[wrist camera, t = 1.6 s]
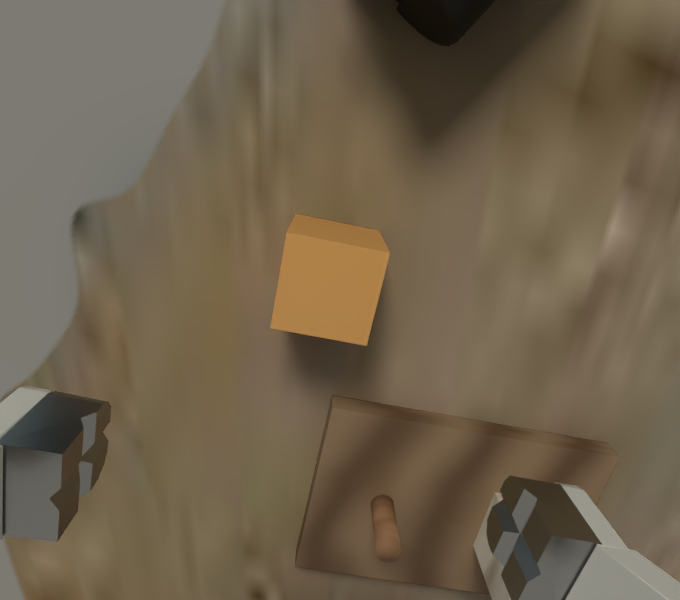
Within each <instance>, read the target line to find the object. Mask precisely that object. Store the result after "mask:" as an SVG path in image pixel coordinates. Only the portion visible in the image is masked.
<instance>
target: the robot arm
mask: <svg viewBox="0 0 680 600" xmlns="http://www.w3.org/2000/svg"><path fill="white" fill-rule="evenodd" d="M110 416H111V406H110V404H109V402H106V401H102V400H97V399H92V398H87V397H82V396H77V395H72V394H67V393H62V392H57V391H54V392H53V391H51V390H47V389H41V388H36V387H30V386H24V387H20V388H18V389H17V390H15V391H14V392H13V393H12V394H11V395H9V396H8V397H7V398H6V399H5V400H3V401H2V402H1V403H0V540H1V539H2V536H11V537H20V538H28V539H37V540H46V541H55V542H58V540H59V539H60V537H61V536H62V534H63V532H64V531H65V529H66V528H67V526H68V525H69V523H70V522H71V520H72V519H73V517H74V516H75V514H76V513H77V511H78V502H79V497H81V496H83V495H85V494H86V493H88V492H90V491H91V489H92V488H93V486H94V484H95V483H96V481H97V480H98V477H99V475H100V473H101V470H102V468H103V465H104V462H105V458H106V454H107V448H108V439H107V438H106V436H105V435H104V433H103V430H104V429H105V428H106V426H107V425H108V424H109V422H110ZM500 492H501V495H502V498H503V500H501V501H500V502H498V503H497V504H495V505H494V506H493V507H492V509H491V511H490V514H489V516H488V519H487V531H486V534H487V539H488V544H489V547H490V550H491V552H492V555H493V556H494V557H495V558H496V559H497V560H498V561H499V562H500V563H501V564H502V565H503V566H504V567H503V570H502V573H501V577H502V579H503V581H504V584H505V586H506V588H507V591H508V593H509V596H510V598H511V600H680V583H679V582H678V581H676V580H675V579H674V578H672V577H671V576H670V575H668V574H667V573H666V572H664V571H663V570H661V569H660V568H659V567H657V566H656V565H655V564H653V563H652V562H651V561H649V560H648V559H646V558H645V557H644V556H642V555H641V554H640V553H638V552H637V551H635V550H629V549H628V548H627V547H626V545H625V544H624V543H623V541H622V540H621V539H620V537H619V536H618V535H617V533H616V532H615V531H614V529H613V528H612V527H611V525H610V524H609V523H608V521H607V520H606V519H605V517H604V516H603V515H602V513H601V512H600V511H599V509H598V508H597V507H596V505H595V504H594V503H593V501H592V500H591V499H590V497H589V496H588V495H587V493H586V492H585V491H584V490H583V489H581V488H580V487H578V486H576V485H569V484H563V483H556V482H555V483H551V482H545V481H540V480H534V479H528V478H522V477H517V476H511V475H510V476H509V477H508V478H507V479H506V480H505V481H504V483H503V485H502V487H501V489H500Z"/></svg>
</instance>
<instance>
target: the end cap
mask: <svg viewBox="0 0 680 600" xmlns="http://www.w3.org/2000/svg"><path fill="white" fill-rule="evenodd" d="M396 1H397V2H398V3H399V6H398V8H397V11H398V12H399V13H400V14H401V15H402V16H403V18H404V19H405V20H406V21H407V22H408V23H409V24H410V25H411V26H412V27H414V28H415V29H416V30H417V31H418V32H419V33H421V34H422V35H423V36H425V37H426V38H427V39H429V40H431V41H432V42H434V43H437V44H439V45H443V46H450V45H452V44H455V43H456V42H457V41H458V40H459V39H460V38H461V37H462V36H463V35H464V34H465V32H466V31H467V30H468V29H469V28H470V27H471V26H472V25H473V24H474V23H475V22H476V21H477V19H478V18H479V17H480V16H481V15H482V14H483V13H484V12H485V11H486V10H487V9H488V8H489V7H490V5H491V4H492V3H493V2H494V1H495V0H396Z"/></svg>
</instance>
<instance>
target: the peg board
mask: <svg viewBox="0 0 680 600" xmlns="http://www.w3.org/2000/svg"><path fill="white" fill-rule="evenodd" d="M619 459H620V456H619V455H618V454H617V453H616V452H615V450H614V449H613V448H612V447H611V446H610V445H609V444H608V443H604V442H598V441H592V440H586V439H581V438H575V437H569V436H563V435H558V434H552V433H546V432H540V431H535V430H529V429H523V428H517V427H512V426H506V425H500V424H494V423H489V422H483V421H477V420H471V419H466V418H460V417H454V416H449V415H443V414H437V413H431V412H426V411H420V410H414V409H408V408H403V407H397V406H391V405H385V404H380V403H374V402H368V401H362V400H357V399H351V398H345V397H339V396H334V395H332V398H331V403H330V407H329V411H328V416H327V420H326V424H325V429H324V433H323V437H322V441H321V446H320V450H319V454H318V459H317V463H316V467H315V471H314V476H313V480H312V484H311V489H310V493H309V497H308V502H307V506H306V510H305V514H304V519H303V523H302V527H301V532H300V536H299V540H298V545H297V549H296V559H295V567H300V568H307V569H314V570H321V571H328V572H335V573H342V574H349V575H356V576H363V577H370V578H377V579H385V580H392V581H399V582H406V583H413V584H420V585H427V586H434V587H441V588H448V589H455V590H462V591H469V592H476V593H484V594H490V596H491V599H492V600H511V598H510V596H509V593H508V591H507V588H506V586H505V584H504V581H503V579H502V577H501V573H502V570H503V567H504V566H503V565H502V564H501V563H500V562H499V561H498V560H497V559H496V558H495V557H494V556H493V555H492V552H491V550H490V547H489V544H488V539H487V534H486V531H487V519H488V516H489V514H490V511H491V509H492V507H493V506H494V505H495V504H497V503H498V502H500V501H501V500H503V498H502V495H501V492H500V489H501V487H502V485H503V483H504V481H505V480H506V479H507V478H508V477H509V476H510V475H511V476H517V477H522V478H528V479H534V480H540V481H545V482H551V483H555V482H556V483H563V484H569V485H576V486H578V487H580V488H581V489H583V490H584V491H585V492H586V493H587V495H588V496H589V497H590V499H591V500H592V501H593V503H594V504H595V505H597V503H598V501H599V499H600V497H601V495H602V493H603V491H604V489H605V487H606V485H607V483H608V481H609V479H610V477H611V475H612V473H613V471H614V469H615V467H616V465H617V463H618V461H619Z"/></svg>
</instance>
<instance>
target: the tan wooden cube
mask: <svg viewBox="0 0 680 600" xmlns="http://www.w3.org/2000/svg"><path fill="white" fill-rule="evenodd" d="M389 255H390V252H389V250H388V248H387V246H386V244H385V242H384V240H383V238H382V236H381V234H380V232H379V231H377V230H372V229H367V228H362V227H358V226H353V225H348V224H343V223H338V222H333V221H328V220H324V219H319V218H314V217H309V216H304V215H299V214H296V215H295V217H294V219H293V221H292V223H291V225H290V227H289V229H288V231H287V234H286V240H285V246H284V251H283V257H282V263H281V269H280V275H279V281H278V287H277V292H276V298H275V304H274V310H273V316H272V322H271V328H272V329H278V330H283V331H288V332H294V333H299V334H305V335H310V336H315V337H321V338H326V339H332V340H337V341H343V342H348V343H353V344H359V345H364V346H367V343H368V339H369V335H370V331H371V327H372V323H373V319H374V315H375V311H376V307H377V303H378V299H379V295H380V291H381V287H382V283H383V279H384V275H385V271H386V267H387V263H388V259H389Z"/></svg>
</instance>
